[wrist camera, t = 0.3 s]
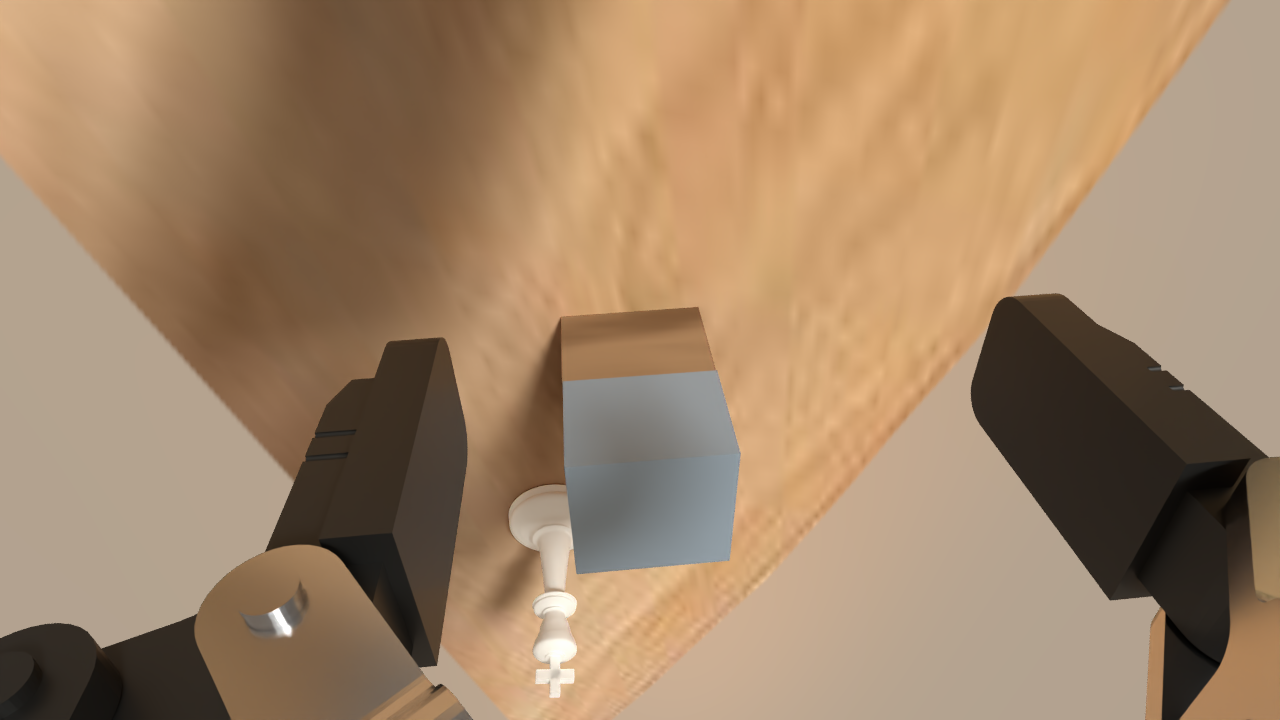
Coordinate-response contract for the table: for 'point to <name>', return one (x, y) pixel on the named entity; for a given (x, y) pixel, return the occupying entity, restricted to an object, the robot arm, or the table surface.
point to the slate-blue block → (649, 470)
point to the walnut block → (634, 344)
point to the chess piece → (549, 576)
